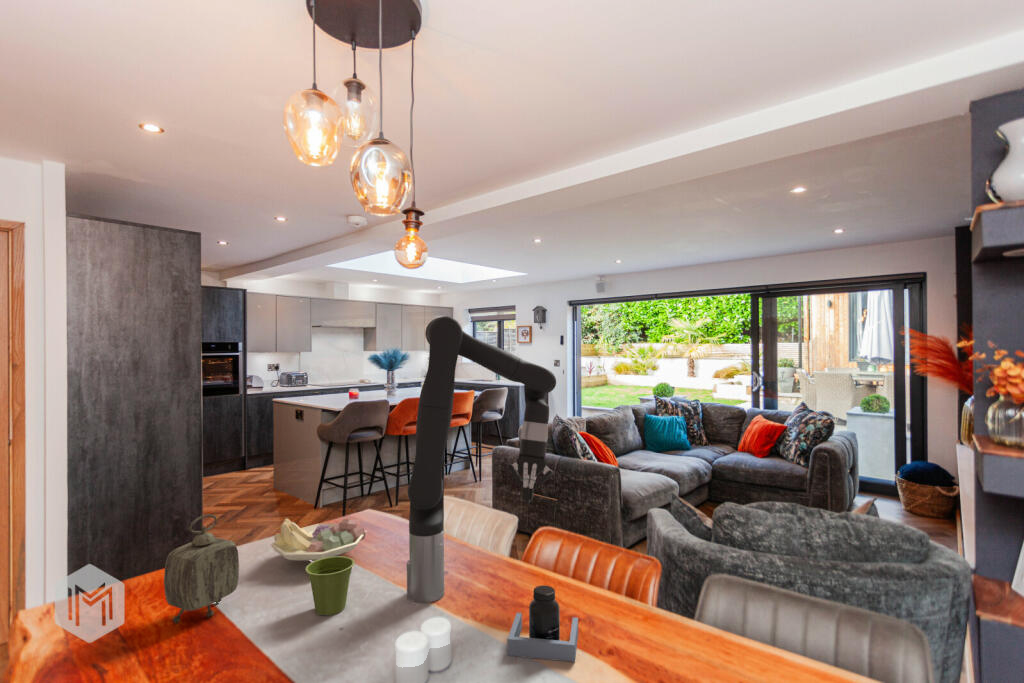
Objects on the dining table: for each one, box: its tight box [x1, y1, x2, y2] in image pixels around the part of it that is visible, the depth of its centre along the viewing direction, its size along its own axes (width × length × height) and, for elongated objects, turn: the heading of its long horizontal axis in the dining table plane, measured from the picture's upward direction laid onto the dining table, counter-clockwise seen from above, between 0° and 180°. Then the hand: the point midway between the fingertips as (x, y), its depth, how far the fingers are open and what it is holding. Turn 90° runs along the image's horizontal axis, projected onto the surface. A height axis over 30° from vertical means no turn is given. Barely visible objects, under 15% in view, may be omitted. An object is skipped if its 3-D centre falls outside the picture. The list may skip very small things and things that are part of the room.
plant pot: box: [305, 555, 355, 616], centre depth 131 cm, size 12×12×11 cm
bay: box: [506, 612, 579, 663], centre depth 114 cm, size 14×11×4 cm
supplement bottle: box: [528, 585, 561, 641], centre depth 114 cm, size 7×7×12 cm
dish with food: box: [270, 518, 368, 562], centre depth 162 cm, size 28×28×14 cm
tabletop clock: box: [163, 513, 240, 624], centre depth 129 cm, size 14×9×25 cm, turn 154°
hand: (527, 501), depth 142 cm, fingers closed
